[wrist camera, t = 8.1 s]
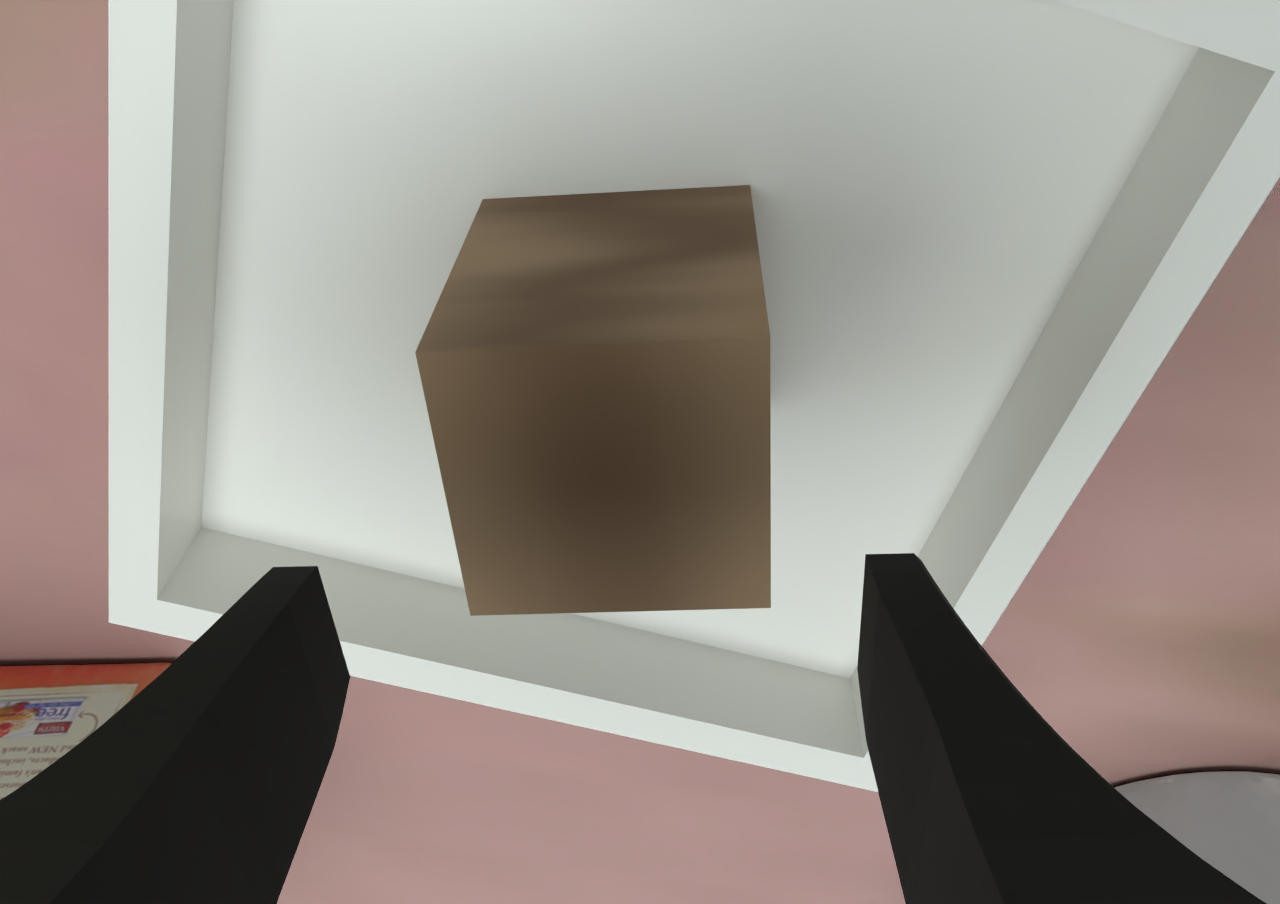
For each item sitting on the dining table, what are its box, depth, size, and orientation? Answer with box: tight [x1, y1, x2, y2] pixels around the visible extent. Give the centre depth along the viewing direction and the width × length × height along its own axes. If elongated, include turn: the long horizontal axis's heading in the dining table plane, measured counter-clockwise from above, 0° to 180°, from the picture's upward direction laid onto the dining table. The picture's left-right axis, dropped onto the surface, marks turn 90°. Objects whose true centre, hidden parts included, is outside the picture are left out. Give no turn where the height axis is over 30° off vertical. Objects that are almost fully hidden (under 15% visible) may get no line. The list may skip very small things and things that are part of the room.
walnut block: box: [415, 185, 771, 616], centre depth 19 cm, size 5×5×6 cm
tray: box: [109, 0, 1280, 792], centre depth 21 cm, size 18×18×3 cm
